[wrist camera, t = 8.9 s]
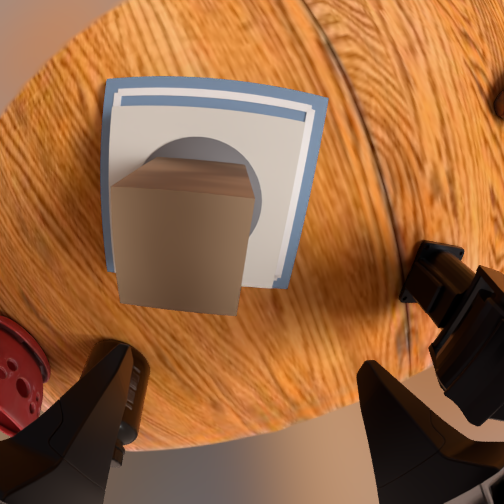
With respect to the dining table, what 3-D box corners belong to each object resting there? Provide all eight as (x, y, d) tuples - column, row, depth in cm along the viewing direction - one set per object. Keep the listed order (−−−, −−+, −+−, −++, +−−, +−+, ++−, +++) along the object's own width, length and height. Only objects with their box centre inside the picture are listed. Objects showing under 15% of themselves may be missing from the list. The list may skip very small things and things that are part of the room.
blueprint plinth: (323, 99, 16) (348, 95, 12) (285, 281, 22) (295, 315, 18) (112, 80, 14) (83, 74, 10) (111, 264, 20) (92, 295, 16)
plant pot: (71, 385, 28) (48, 456, 17) (7, 361, 26) (-21, 418, 16) (40, 314, 22) (-9, 399, 12) (-26, 293, 20) (-72, 353, 10)
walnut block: (245, 164, 13) (255, 198, 8) (233, 244, 15) (236, 316, 10) (157, 156, 13) (110, 186, 8) (154, 236, 15) (120, 302, 10)
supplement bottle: (81, 341, 24) (43, 434, 13) (130, 333, 24) (97, 444, 13) (114, 380, 27) (92, 466, 17) (162, 375, 27) (148, 475, 16)
